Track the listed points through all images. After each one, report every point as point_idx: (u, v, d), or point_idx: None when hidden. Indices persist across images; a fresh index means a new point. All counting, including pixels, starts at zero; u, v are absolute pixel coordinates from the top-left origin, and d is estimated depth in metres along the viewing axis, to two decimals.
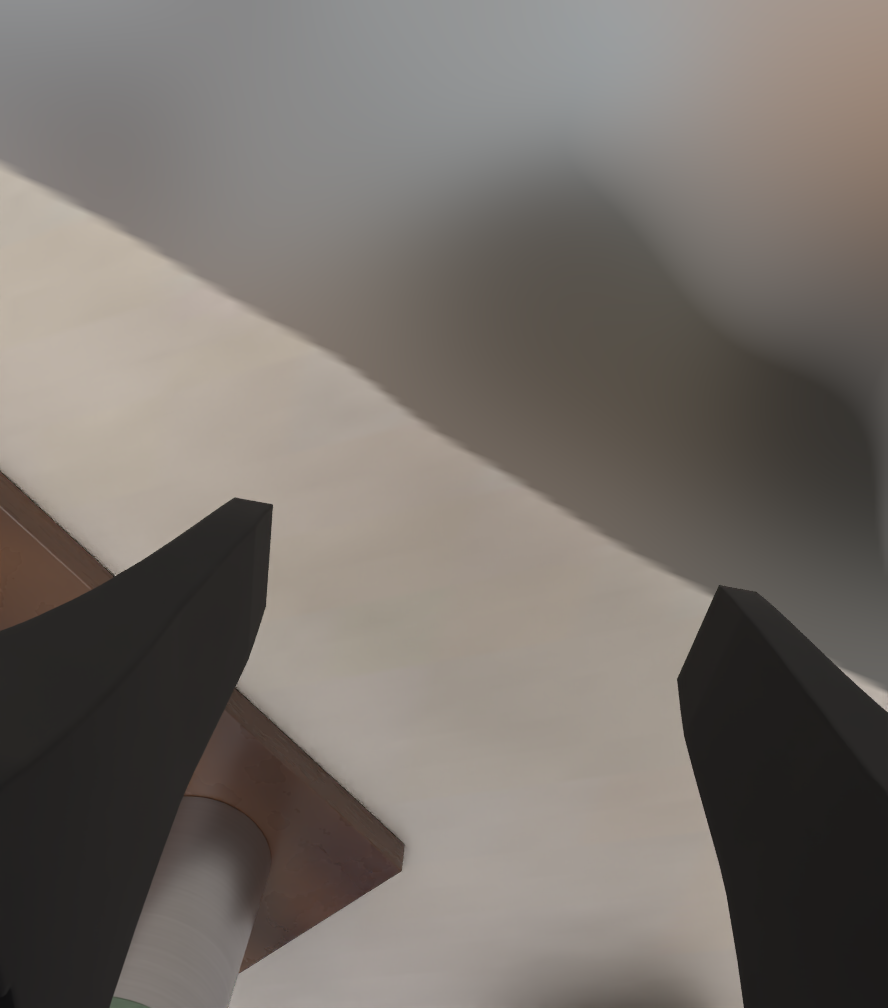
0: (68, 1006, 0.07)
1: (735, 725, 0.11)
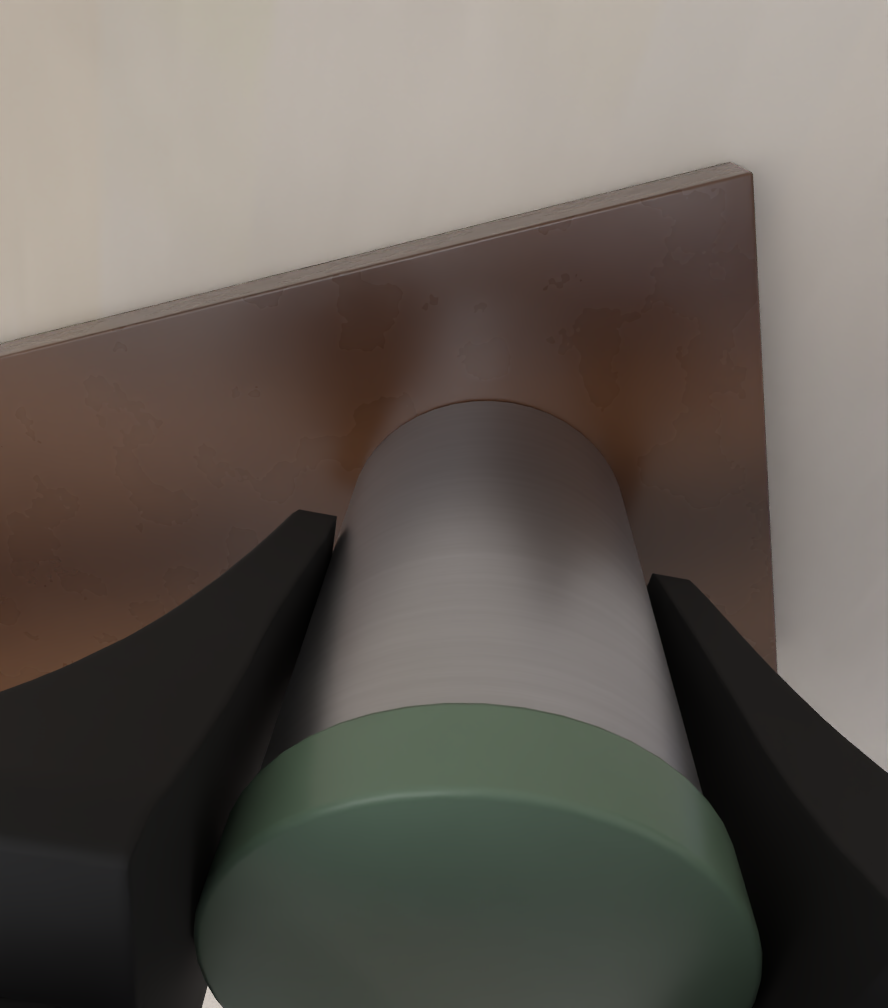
0: None
1: None
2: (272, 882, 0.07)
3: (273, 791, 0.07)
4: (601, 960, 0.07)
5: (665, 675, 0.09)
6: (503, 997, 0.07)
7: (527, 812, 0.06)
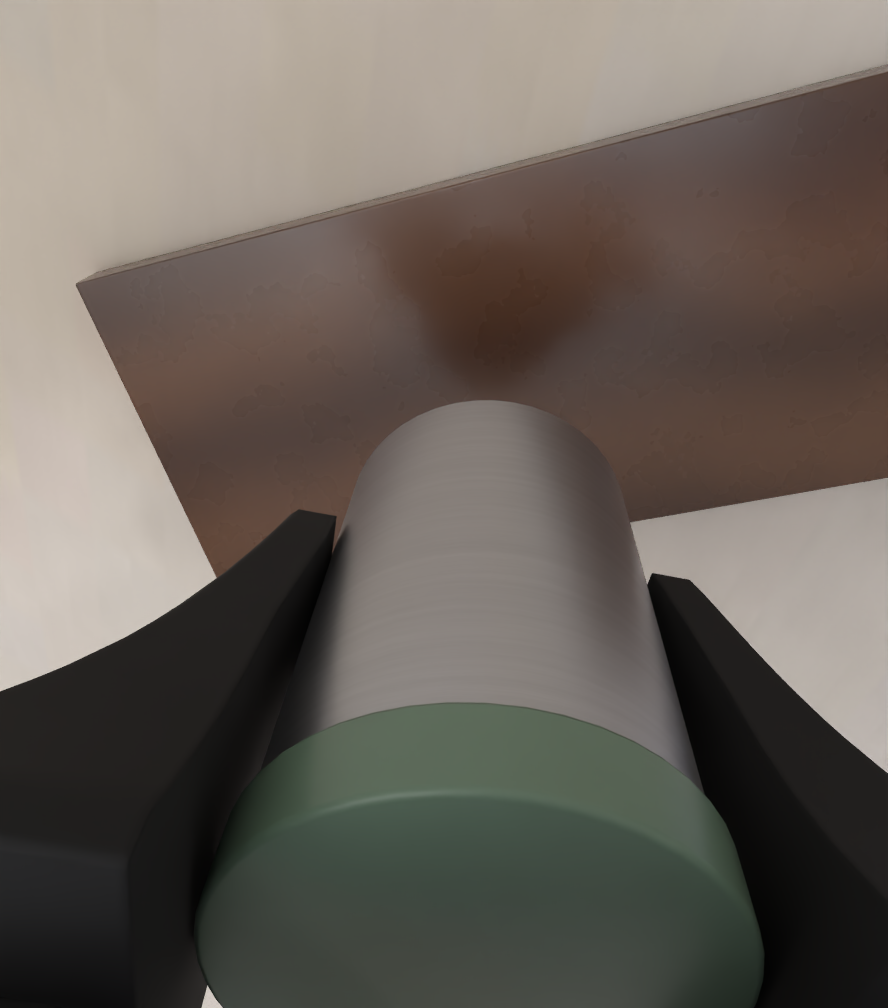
0: None
1: None
2: (273, 882, 0.07)
3: (274, 791, 0.07)
4: (603, 960, 0.07)
5: (666, 674, 0.09)
6: (504, 996, 0.07)
7: (529, 812, 0.06)
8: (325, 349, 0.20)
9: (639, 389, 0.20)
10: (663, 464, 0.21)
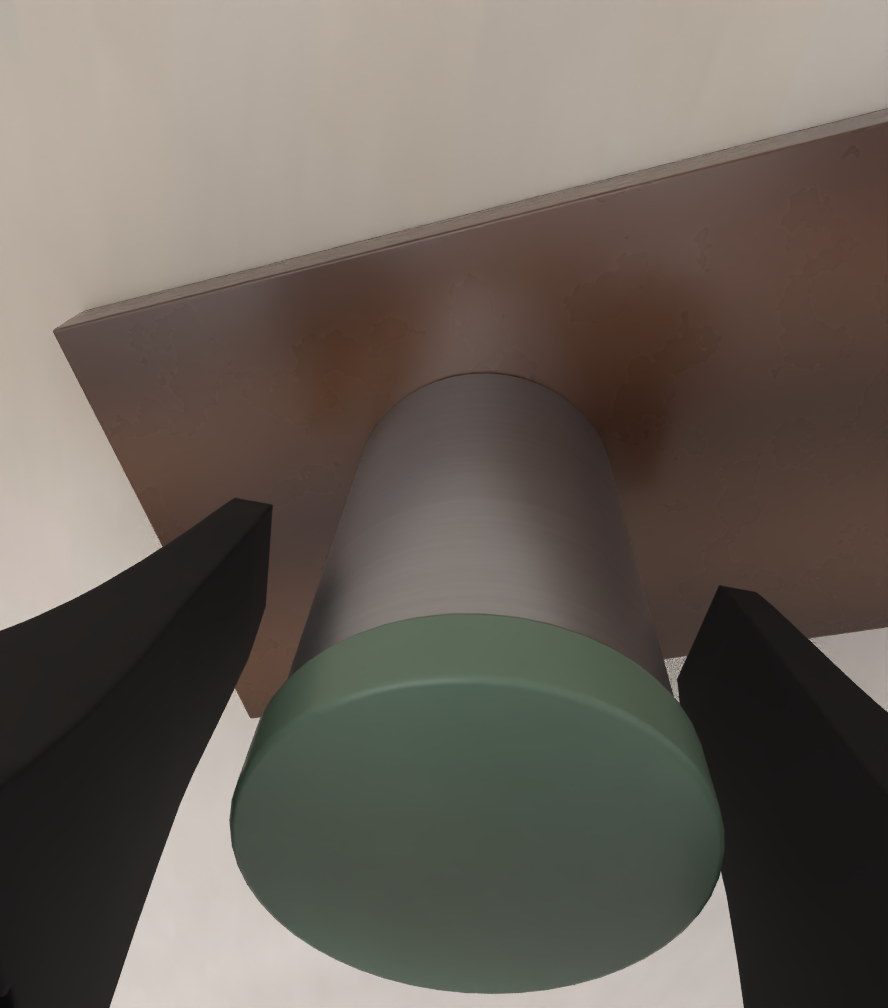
0: (68, 1006, 0.07)
1: (735, 726, 0.11)
2: (300, 767, 0.08)
3: (300, 690, 0.08)
4: (585, 838, 0.08)
5: (645, 608, 0.10)
6: (500, 876, 0.08)
7: (520, 696, 0.07)
8: None
9: (832, 474, 0.15)
10: (851, 569, 0.16)
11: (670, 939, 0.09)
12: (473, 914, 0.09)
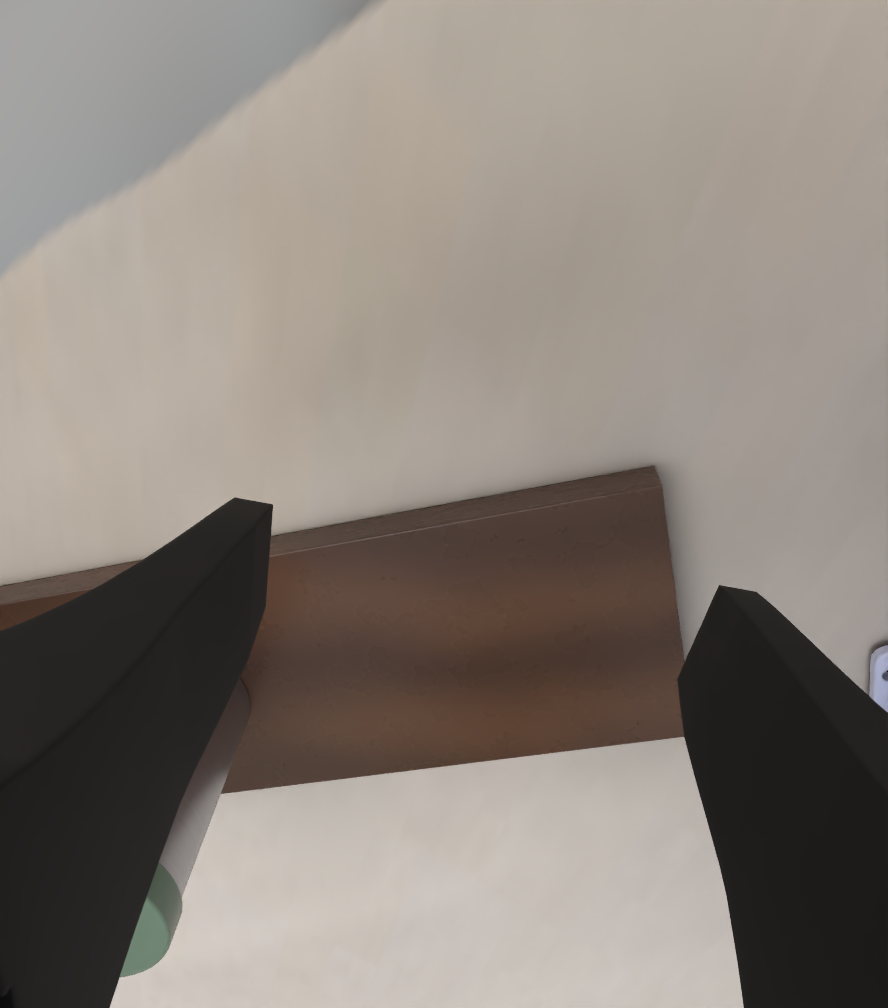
0: (68, 1006, 0.07)
1: (735, 726, 0.11)
2: None
3: None
4: None
5: None
6: None
7: None
8: None
9: (366, 692, 0.26)
10: (395, 738, 0.27)
11: (162, 954, 0.20)
12: None
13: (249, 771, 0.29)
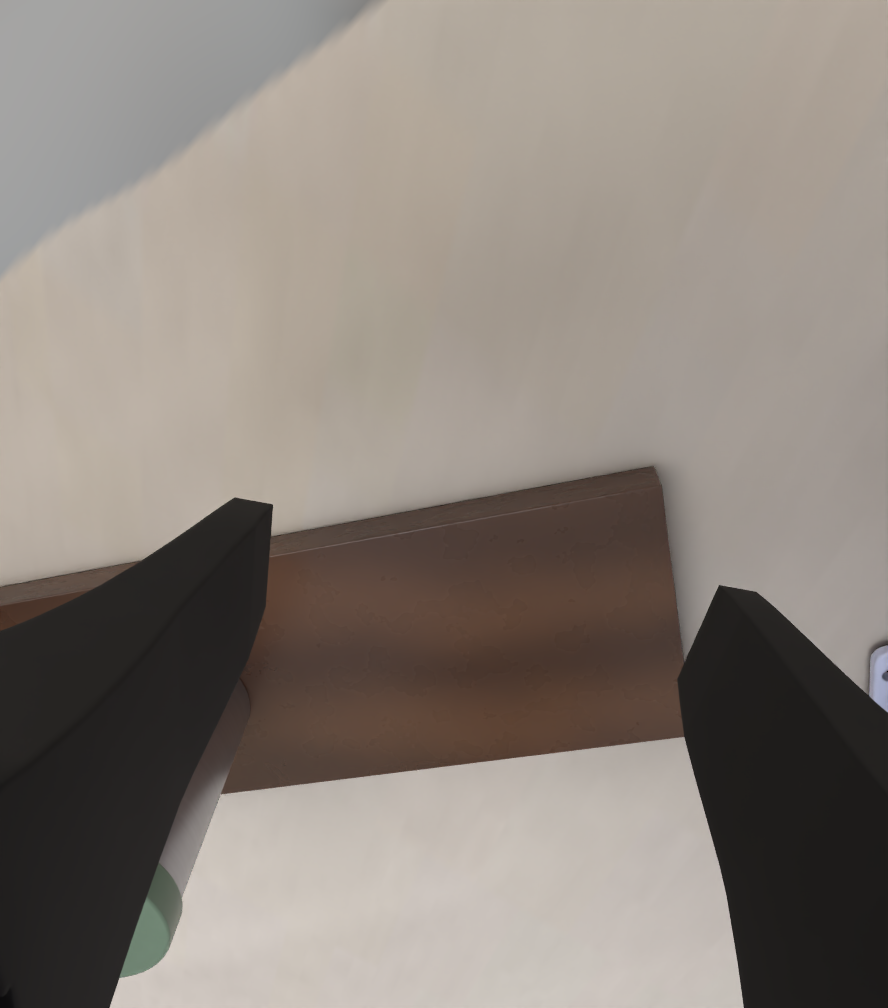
0: (68, 1006, 0.07)
1: (735, 726, 0.11)
2: None
3: None
4: None
5: None
6: None
7: None
8: None
9: (366, 692, 0.26)
10: (395, 739, 0.27)
11: (163, 955, 0.20)
12: None
13: (249, 771, 0.29)
